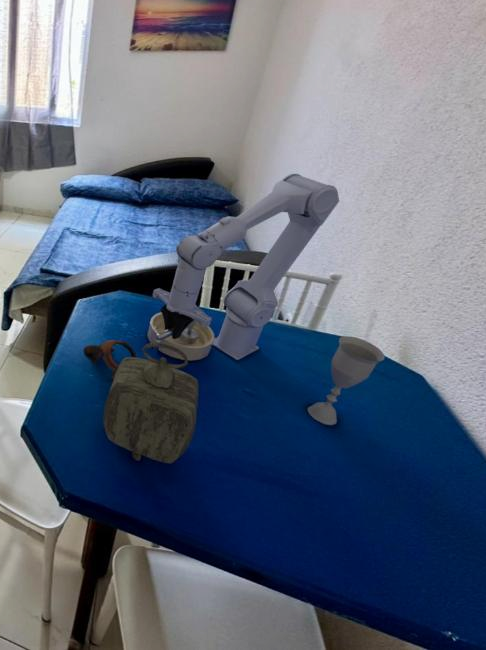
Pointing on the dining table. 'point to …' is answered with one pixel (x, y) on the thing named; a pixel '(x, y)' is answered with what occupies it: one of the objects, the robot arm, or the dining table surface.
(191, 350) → the bowl
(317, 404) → the chalice
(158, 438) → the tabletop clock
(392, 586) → the dining table surface
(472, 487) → the dining table surface
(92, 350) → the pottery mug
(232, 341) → the robot arm
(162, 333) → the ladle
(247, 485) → the dining table surface
